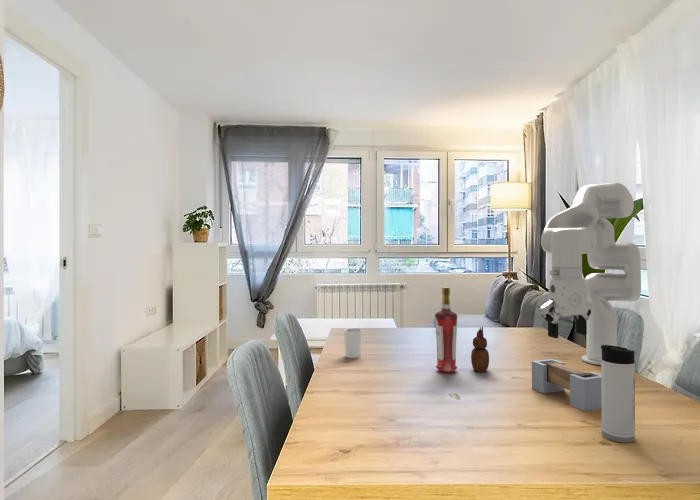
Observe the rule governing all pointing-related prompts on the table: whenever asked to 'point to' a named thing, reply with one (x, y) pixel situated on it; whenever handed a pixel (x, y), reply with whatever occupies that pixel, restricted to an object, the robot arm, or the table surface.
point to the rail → (562, 374)
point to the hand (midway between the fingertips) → (567, 335)
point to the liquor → (446, 335)
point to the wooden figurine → (480, 353)
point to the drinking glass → (352, 342)
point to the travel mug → (618, 393)
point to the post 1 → (543, 377)
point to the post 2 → (586, 392)
